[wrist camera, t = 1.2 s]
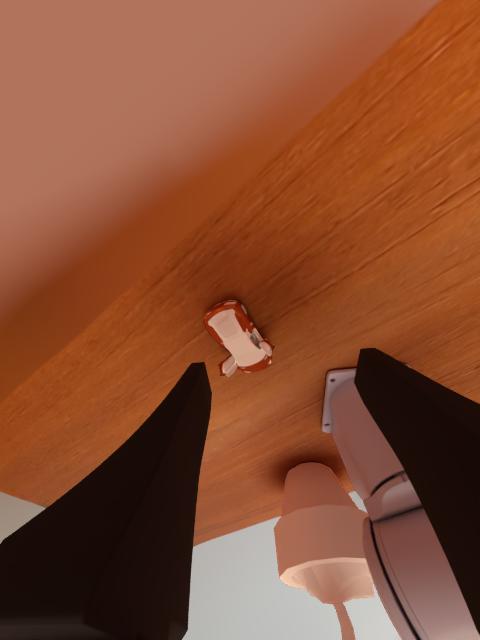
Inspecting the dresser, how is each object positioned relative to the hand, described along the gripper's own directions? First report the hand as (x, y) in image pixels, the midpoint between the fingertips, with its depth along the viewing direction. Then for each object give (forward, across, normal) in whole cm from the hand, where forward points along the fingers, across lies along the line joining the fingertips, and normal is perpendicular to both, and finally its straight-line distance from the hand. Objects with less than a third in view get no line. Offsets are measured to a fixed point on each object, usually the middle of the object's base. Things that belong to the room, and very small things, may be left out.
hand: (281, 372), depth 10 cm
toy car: (+9, +2, +3) cm, 10 cm away
